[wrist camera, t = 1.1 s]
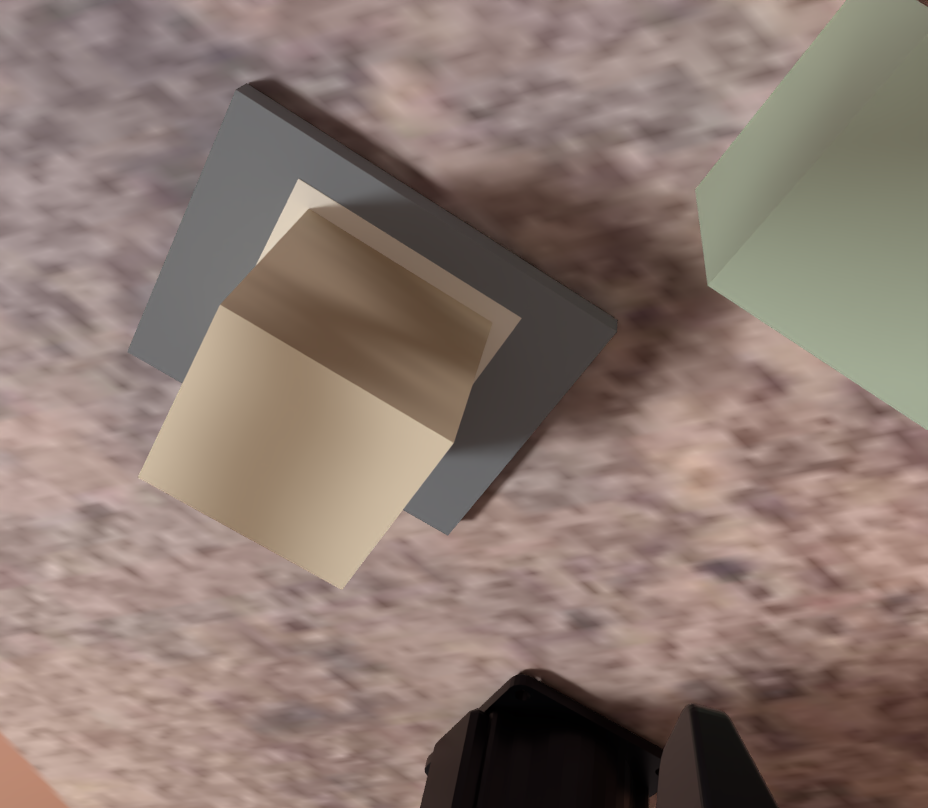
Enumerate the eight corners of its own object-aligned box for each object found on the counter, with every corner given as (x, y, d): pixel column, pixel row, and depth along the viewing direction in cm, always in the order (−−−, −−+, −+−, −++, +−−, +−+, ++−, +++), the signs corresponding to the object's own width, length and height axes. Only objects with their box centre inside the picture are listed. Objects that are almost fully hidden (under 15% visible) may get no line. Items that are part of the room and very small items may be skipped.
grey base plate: (617, 320, 21) (616, 332, 20) (451, 522, 25) (447, 535, 25) (246, 83, 19) (235, 90, 19) (138, 341, 24) (126, 352, 23)
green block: (1068, 120, 17) (1202, 211, 13) (873, 309, 20) (933, 433, 16) (868, -29, 16) (942, 16, 12) (694, 188, 19) (707, 285, 15)
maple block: (492, 322, 21) (453, 442, 17) (396, 457, 23) (341, 589, 19) (309, 208, 20) (220, 304, 16) (230, 361, 23) (137, 477, 19)
